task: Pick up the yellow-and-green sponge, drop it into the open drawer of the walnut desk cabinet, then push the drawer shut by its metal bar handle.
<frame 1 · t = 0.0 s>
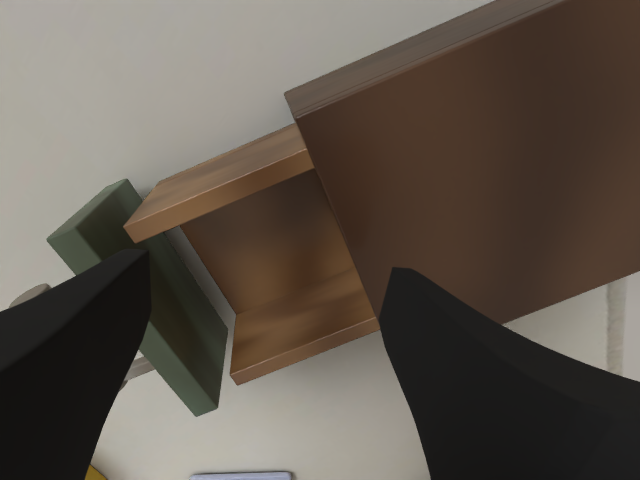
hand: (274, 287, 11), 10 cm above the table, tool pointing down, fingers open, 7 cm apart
drawer: (227, 269, 18), point 4 cm above the table, slide at 8.5 cm
cabinet: (441, 148, 21), on the table
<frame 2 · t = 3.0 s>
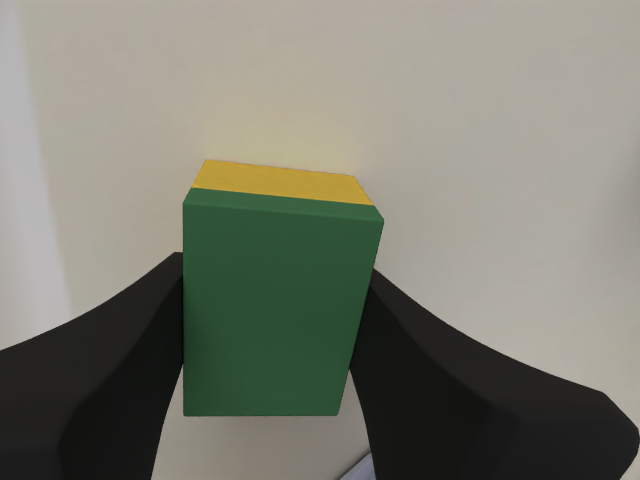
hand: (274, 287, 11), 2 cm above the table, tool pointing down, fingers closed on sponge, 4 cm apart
sponge: (272, 261, 13), on the table, touching gripper
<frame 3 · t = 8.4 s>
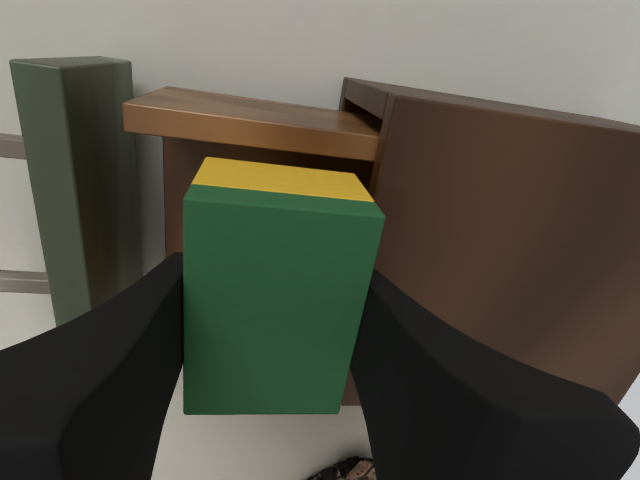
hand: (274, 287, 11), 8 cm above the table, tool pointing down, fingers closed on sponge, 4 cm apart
drawer: (196, 220, 15), point 4 cm above the table, slide at 8.5 cm
sponge: (272, 259, 13), point 7 cm above the table, touching gripper
cabinet: (447, 212, 21), on the table
when the fingers open (9 cm above the table, at t = 14.1 s): sponge drops 5 cm, resting on drawer.
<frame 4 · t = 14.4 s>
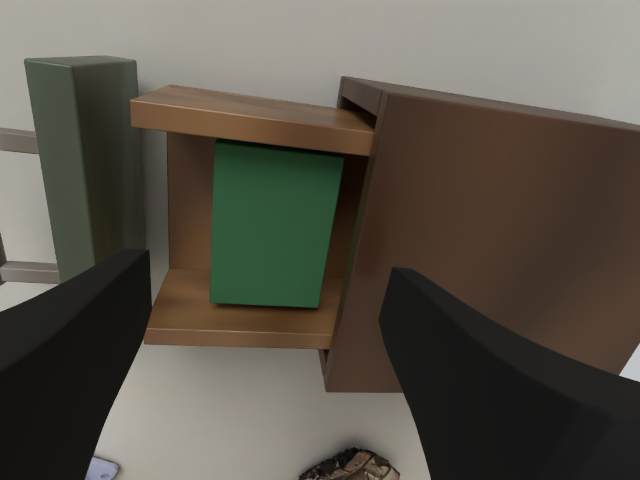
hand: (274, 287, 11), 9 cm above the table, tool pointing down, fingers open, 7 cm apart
drawer: (199, 213, 15), point 4 cm above the table, slide at 8.5 cm, touching sponge
sponge: (271, 202, 18), point 2 cm above the table, touching drawer
cabinet: (442, 207, 21), on the table
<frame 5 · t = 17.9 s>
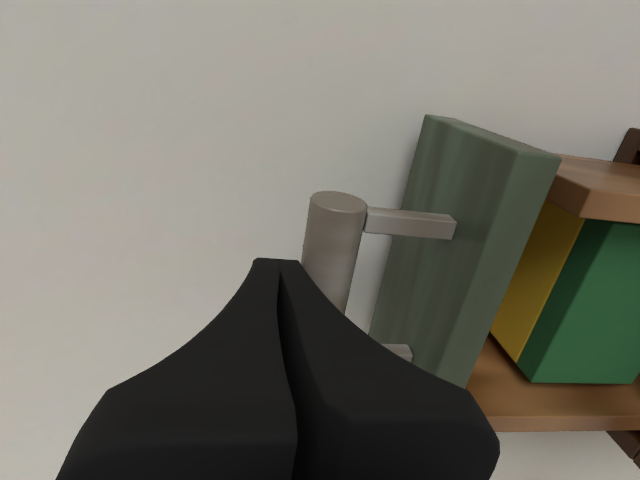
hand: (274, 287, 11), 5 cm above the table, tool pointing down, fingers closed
drawer: (519, 285, 14), point 4 cm above the table, slide at 8.2 cm, touching gripper, sponge
sponge: (555, 264, 16), point 2 cm above the table, touching drawer
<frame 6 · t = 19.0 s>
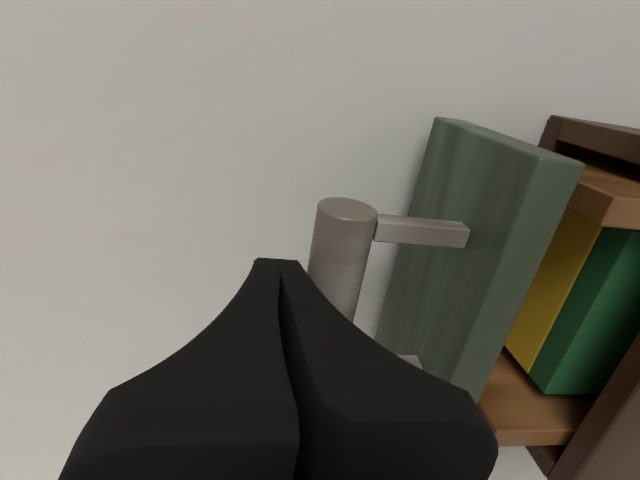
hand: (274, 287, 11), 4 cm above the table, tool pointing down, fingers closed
drawer: (531, 293, 14), point 4 cm above the table, slide at 3.8 cm, touching gripper, sponge
sponge: (567, 270, 16), point 2 cm above the table, touching drawer
cabinet: (623, 257, 18), on the table
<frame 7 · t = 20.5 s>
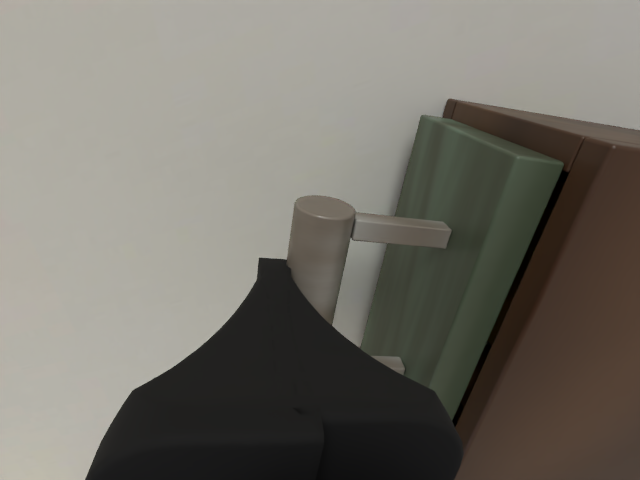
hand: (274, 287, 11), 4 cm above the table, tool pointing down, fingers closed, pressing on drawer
drawer: (518, 295, 13), point 4 cm above the table, slide at 0.0 cm, touching cabinet, gripper, sponge
sponge: (558, 273, 16), point 2 cm above the table, touching drawer
cabinet: (546, 253, 18), on the table
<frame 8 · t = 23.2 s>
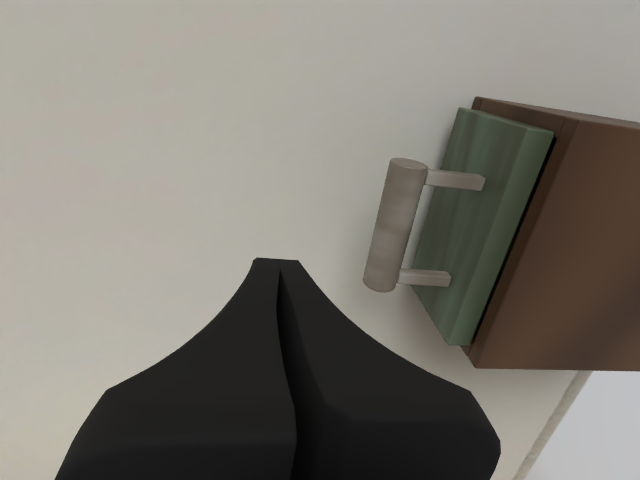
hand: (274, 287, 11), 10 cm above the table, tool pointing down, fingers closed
drawer: (525, 230, 20), point 4 cm above the table, slide at 0.0 cm, touching cabinet, sponge
sponge: (552, 220, 22), point 2 cm above the table, touching drawer
cabinet: (544, 210, 24), on the table
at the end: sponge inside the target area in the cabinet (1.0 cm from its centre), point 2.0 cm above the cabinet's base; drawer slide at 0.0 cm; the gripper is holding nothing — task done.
